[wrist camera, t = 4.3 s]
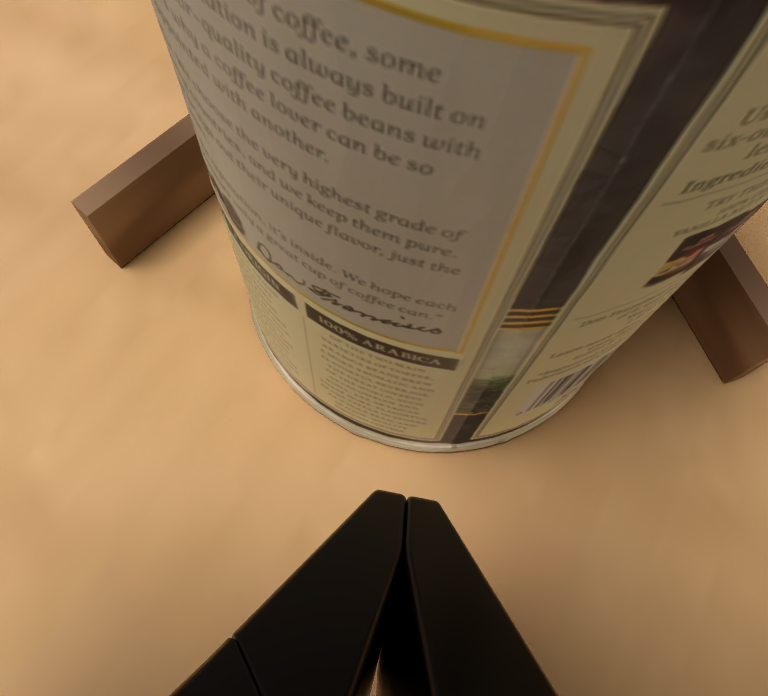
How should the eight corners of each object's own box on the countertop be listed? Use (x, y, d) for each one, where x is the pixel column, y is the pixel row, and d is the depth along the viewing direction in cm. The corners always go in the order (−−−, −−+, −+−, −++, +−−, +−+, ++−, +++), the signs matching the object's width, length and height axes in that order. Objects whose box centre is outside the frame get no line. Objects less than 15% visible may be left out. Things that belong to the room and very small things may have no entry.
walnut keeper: (743, 387, 17) (804, 352, 15) (103, 264, 18) (66, 212, 15) (730, 8, 23) (774, -59, 21) (243, -79, 23) (231, -155, 21)
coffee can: (355, 83, 21) (368, -820, 8) (657, 217, 19) (1303, -602, 6) (168, 341, 17) (-426, -551, 4) (525, 531, 16) (1431, 124, 3)
